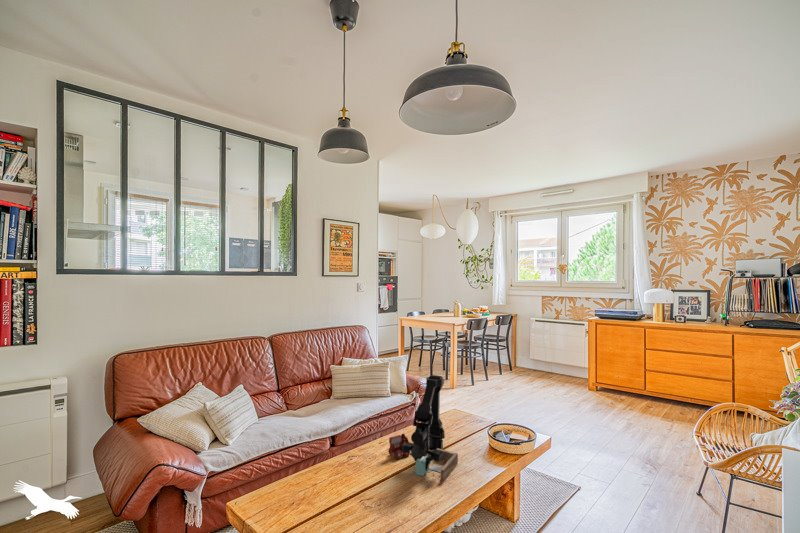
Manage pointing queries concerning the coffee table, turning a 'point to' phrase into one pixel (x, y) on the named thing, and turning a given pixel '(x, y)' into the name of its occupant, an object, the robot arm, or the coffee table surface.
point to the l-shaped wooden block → (449, 466)
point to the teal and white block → (421, 466)
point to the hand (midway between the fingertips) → (422, 469)
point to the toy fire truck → (398, 446)
